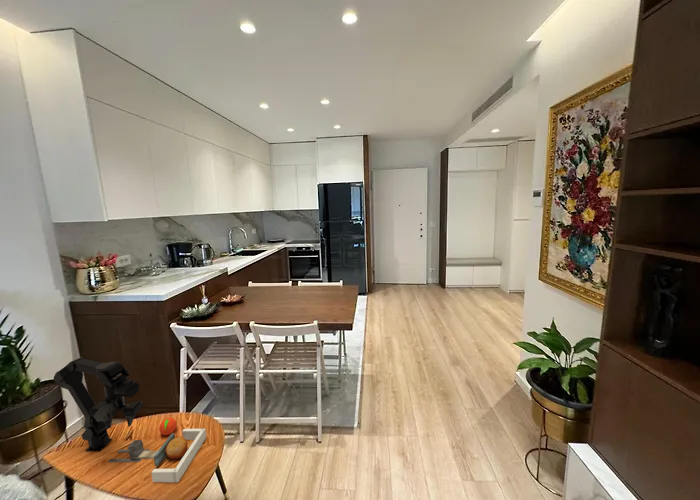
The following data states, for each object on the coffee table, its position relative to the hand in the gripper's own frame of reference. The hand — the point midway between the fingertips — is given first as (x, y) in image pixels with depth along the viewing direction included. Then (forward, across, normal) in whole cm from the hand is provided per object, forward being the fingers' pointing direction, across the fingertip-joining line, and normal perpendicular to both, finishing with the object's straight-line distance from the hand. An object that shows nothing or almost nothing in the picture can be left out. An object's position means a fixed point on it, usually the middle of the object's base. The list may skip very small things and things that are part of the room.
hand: (119, 426), depth 125 cm
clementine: (+12, +14, +10) cm, 21 cm away
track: (+12, +5, -3) cm, 13 cm away
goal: (+12, +28, -4) cm, 31 cm away
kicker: (+12, +14, -3) cm, 18 cm away
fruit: (+12, +25, -2) cm, 28 cm away
